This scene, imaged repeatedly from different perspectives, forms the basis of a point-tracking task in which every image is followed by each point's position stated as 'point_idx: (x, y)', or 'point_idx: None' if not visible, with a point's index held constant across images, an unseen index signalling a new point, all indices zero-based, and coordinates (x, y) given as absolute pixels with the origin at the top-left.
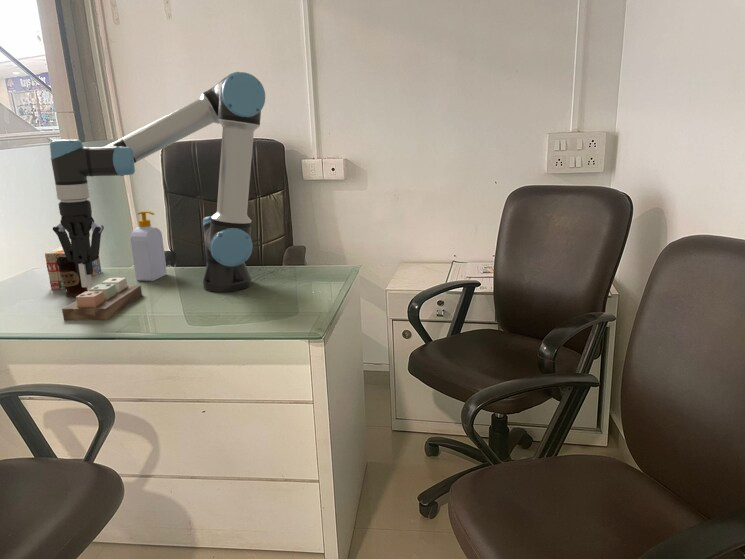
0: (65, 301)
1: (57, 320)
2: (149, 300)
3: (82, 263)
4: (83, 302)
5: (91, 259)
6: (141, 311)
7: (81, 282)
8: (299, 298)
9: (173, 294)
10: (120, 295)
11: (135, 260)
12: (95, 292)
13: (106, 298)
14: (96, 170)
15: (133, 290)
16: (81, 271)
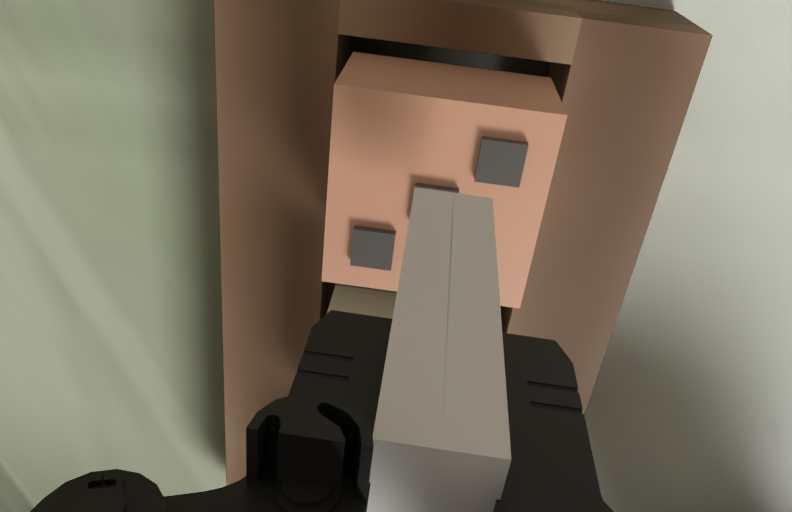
0: (769, 463)
1: (736, 7)
2: (140, 387)
3: (432, 498)
4: (478, 84)
5: (98, 508)
6: (58, 153)
7: (489, 231)
8: None
9: (40, 469)
10: (265, 358)
11: None
12: (376, 233)
13: (348, 290)
14: None
15: (227, 464)
16: (459, 334)
